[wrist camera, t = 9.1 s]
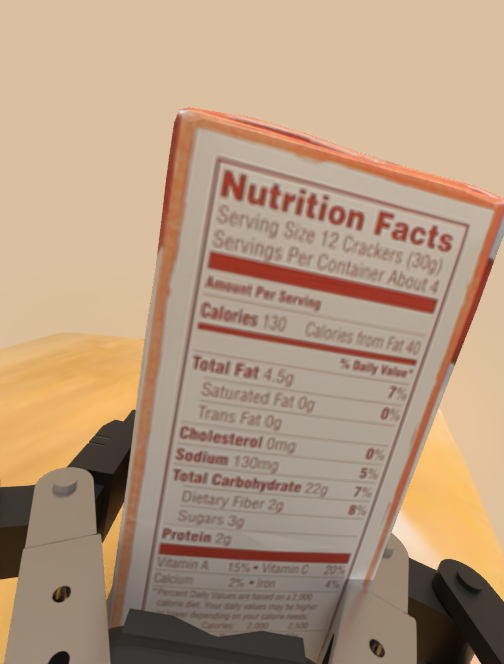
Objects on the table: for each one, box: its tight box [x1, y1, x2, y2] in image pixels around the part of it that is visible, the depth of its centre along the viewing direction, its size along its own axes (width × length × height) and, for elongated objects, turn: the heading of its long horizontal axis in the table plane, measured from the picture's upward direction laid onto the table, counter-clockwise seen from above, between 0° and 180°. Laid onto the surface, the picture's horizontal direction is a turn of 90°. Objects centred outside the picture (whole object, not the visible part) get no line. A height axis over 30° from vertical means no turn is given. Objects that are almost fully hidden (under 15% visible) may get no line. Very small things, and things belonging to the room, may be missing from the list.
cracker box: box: [107, 108, 504, 663], centre depth 14 cm, size 14×6×21 cm, turn 7°
